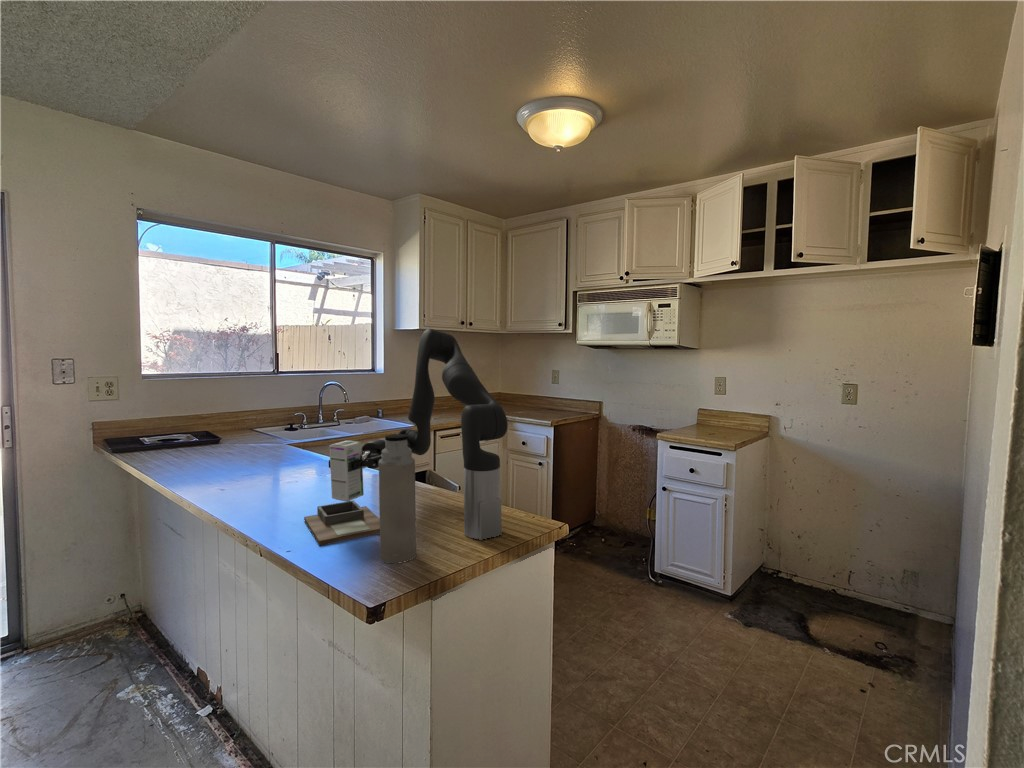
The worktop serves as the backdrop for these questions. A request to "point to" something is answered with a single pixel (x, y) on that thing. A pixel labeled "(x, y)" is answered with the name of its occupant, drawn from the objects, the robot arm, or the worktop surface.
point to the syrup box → (345, 471)
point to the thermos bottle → (397, 500)
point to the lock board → (342, 522)
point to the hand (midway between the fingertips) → (340, 465)
